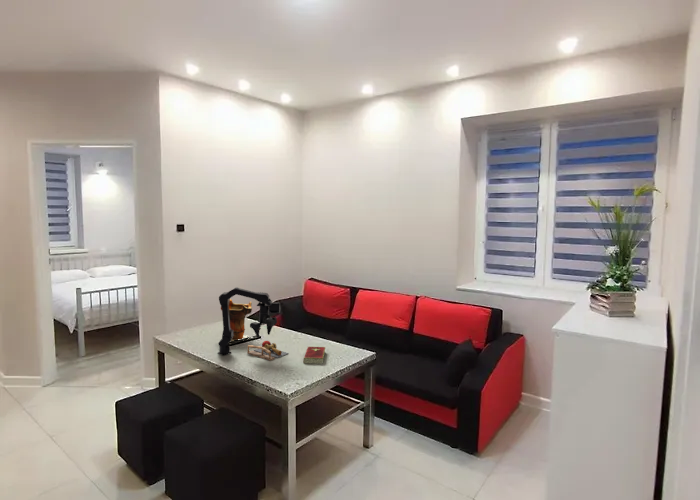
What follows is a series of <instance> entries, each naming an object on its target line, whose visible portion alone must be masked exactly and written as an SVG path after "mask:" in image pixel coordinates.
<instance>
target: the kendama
mask: <svg viewBox="0 0 700 500" xmlns="http://www.w3.org/2000/svg"><path fill="white" fill-rule="evenodd" d="M261 347H264V348H266V349H268V350H270V349H272V350H273V351H274V352H275V353H276V354H278V355H281V353H282V352H281V351H282V350H280V349H278V348H277V344H276V343H275V342H270V340H264V341H263V342H262V344H261Z"/></svg>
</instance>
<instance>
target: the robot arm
mask: <svg viewBox="0 0 700 500" xmlns="http://www.w3.org/2000/svg"><path fill="white" fill-rule="evenodd" d="M236 295H237V296H242V297H244V298H249V299H252V300H255V301H257V302H258V303H257V304H256V307H259V313H258V314H257V316H258V320H257V322H256V321H255V322H250V324H249V328H251V329H252V330H253V332H254V333H255V336H256V337H257V338H258V339H259V338H260V330H261V327H262V326H264V325H266V331H267V336H268V335H270V334H271V331H272V329H273V328H274V326H276V324H277V323H278V320H277V317H275V316H273V317H271V315H270V313H271V314H281V303H280V302H278V301H277V302H273V300H272V299H271V298H270V295H269V294H268V293H267V292H261V291H260V292H255V291H251V290H247V289H243V288H240V287H234V288H233V289H230V290H229V291H227V292H222V293H221V294H220V295H219V297H218V301H219V304H220V308H221V307H222V310H221V315H222V325H223V327H222V328H223V329H222V334H221V335H222V336H221V339H220V340H219V342H218V346H219V349H218V350H219V351H218V352H217V353H216V354H218V355H220V356H227V355H230V354H232V352H231V350H230V348H231V347H230V341H231V340H232V338H233V336H234V334H233V330H231V328H230V318H229V302H230V299H231V298H233V297H234V296H236ZM269 312H270V313H269ZM231 342H232V341H231Z"/></svg>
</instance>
